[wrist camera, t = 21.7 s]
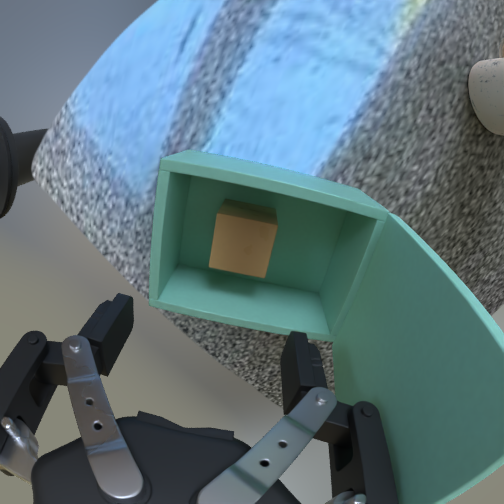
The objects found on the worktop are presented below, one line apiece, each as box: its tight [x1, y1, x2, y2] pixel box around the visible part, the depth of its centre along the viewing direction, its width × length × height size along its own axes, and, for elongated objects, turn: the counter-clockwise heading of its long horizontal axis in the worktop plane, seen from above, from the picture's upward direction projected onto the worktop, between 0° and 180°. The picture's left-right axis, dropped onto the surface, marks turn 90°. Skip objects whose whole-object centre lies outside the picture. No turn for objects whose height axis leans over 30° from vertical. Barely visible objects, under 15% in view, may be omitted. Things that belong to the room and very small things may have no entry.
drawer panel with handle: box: [332, 213, 504, 504], centre depth 12 cm, size 16×12×5 cm
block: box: [209, 199, 278, 278], centre depth 24 cm, size 4×4×4 cm
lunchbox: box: [149, 150, 390, 342], centre depth 23 cm, size 16×12×7 cm
